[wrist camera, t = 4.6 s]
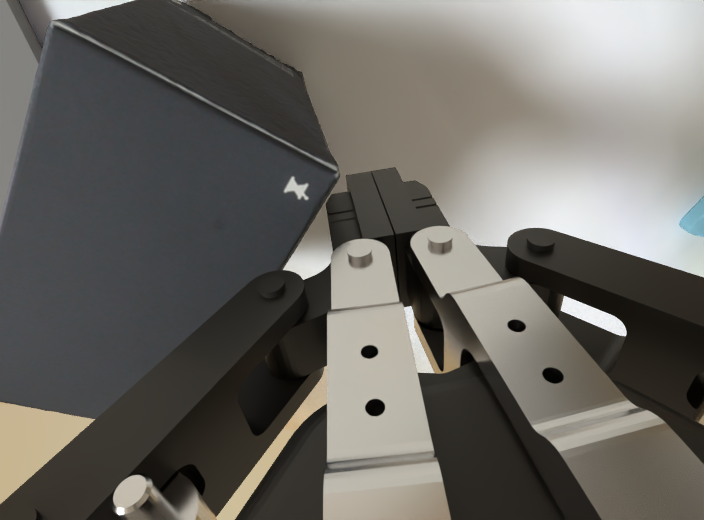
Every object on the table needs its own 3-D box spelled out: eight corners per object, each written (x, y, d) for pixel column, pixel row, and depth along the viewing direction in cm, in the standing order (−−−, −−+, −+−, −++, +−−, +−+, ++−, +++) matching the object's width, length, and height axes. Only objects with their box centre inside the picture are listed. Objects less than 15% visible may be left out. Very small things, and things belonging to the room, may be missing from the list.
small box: (149, -23, 15) (28, -9, 7) (308, 74, 18) (360, 169, 10) (71, 213, 20) (-65, 403, 11) (210, 262, 22) (187, 443, 14)
